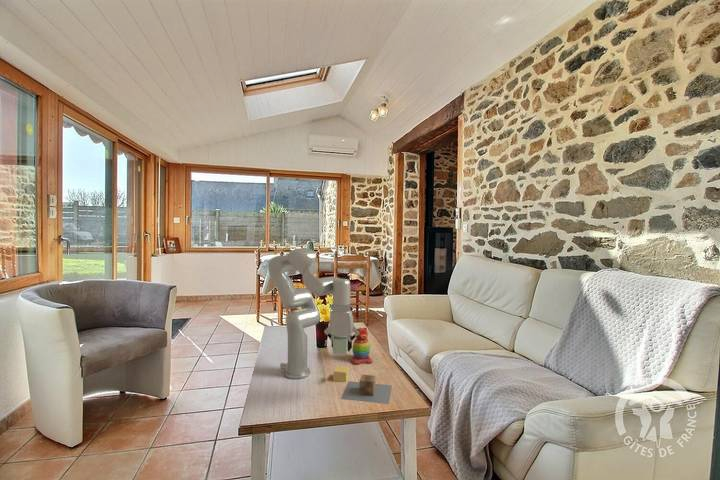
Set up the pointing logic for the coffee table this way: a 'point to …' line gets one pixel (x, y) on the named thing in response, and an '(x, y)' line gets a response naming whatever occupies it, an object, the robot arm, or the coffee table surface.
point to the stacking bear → (361, 348)
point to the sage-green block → (340, 345)
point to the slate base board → (379, 396)
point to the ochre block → (341, 374)
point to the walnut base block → (367, 385)
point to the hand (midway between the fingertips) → (341, 349)
